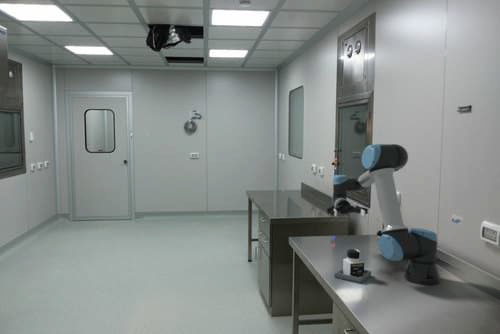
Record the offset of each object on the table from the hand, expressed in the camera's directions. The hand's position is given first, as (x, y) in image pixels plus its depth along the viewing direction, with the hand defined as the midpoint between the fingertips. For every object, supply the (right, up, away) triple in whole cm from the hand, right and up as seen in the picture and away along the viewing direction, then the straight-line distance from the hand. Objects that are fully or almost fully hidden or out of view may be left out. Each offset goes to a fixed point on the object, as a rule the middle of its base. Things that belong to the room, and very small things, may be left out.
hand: (350, 214), depth 198 cm
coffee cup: (+27, -26, +30) cm, 48 cm away
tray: (-1, -29, -7) cm, 30 cm away
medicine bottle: (0, -28, -7) cm, 29 cm away
